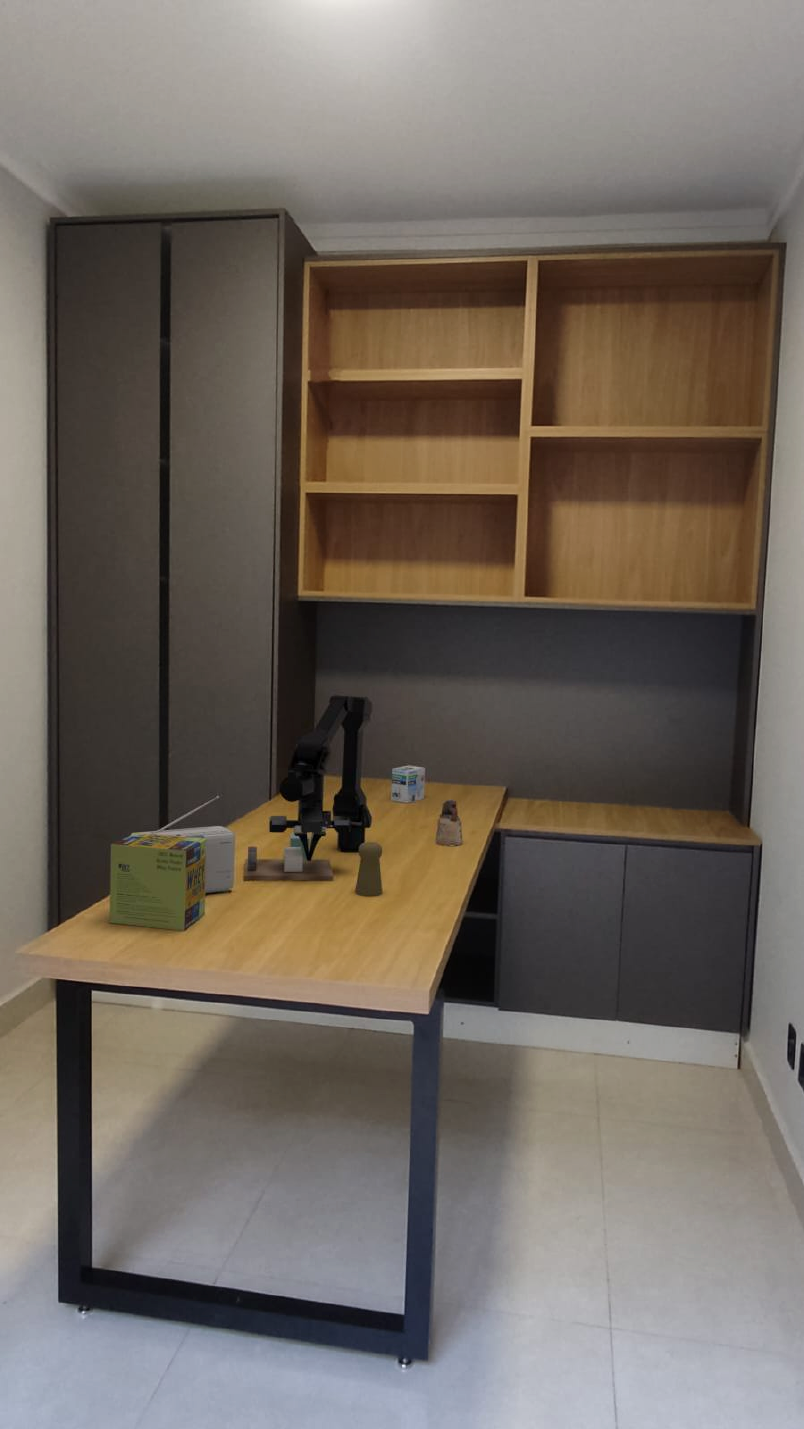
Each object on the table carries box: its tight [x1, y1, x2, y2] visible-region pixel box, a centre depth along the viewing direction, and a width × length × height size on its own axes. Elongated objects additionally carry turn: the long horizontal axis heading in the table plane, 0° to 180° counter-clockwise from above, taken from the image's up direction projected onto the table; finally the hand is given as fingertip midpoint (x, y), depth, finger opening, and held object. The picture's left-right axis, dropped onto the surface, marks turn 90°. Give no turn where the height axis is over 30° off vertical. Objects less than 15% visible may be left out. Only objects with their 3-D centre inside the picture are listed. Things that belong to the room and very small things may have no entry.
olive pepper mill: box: [354, 841, 383, 898], centre depth 206 cm, size 6×6×11 cm
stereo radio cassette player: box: [130, 795, 236, 894], centre depth 199 cm, size 21×8×20 cm, turn 121°
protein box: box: [109, 832, 206, 932], centre depth 182 cm, size 10×15×16 cm
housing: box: [282, 846, 303, 872], centre depth 219 cm, size 4×9×4 cm, turn 9°
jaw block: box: [289, 833, 311, 859], centre depth 231 cm, size 4×4×6 cm
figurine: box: [435, 799, 463, 846], centre depth 254 cm, size 7×7×12 cm
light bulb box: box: [390, 764, 426, 804], centre depth 312 cm, size 11×7×11 cm, turn 147°
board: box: [243, 846, 335, 882], centre depth 219 cm, size 20×14×5 cm
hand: (308, 860), depth 220 cm, fingers closed
